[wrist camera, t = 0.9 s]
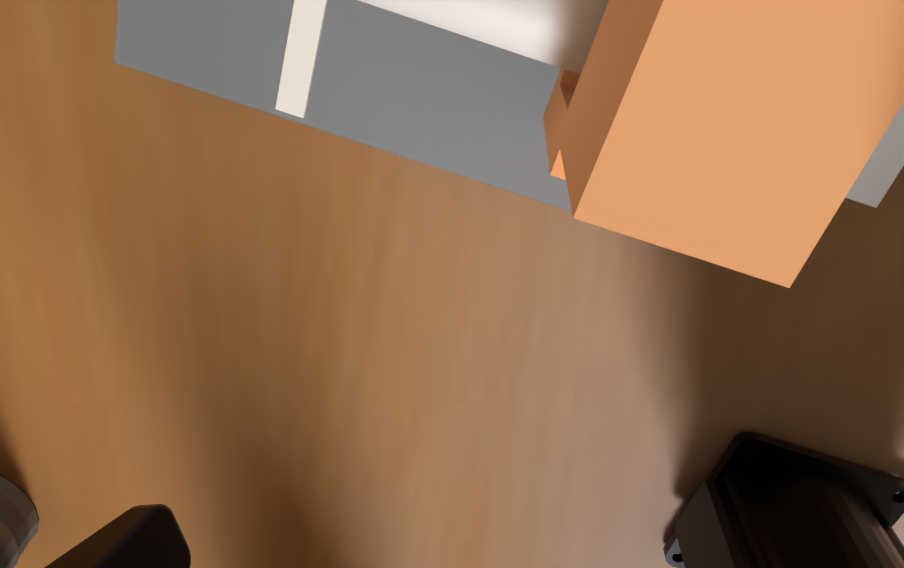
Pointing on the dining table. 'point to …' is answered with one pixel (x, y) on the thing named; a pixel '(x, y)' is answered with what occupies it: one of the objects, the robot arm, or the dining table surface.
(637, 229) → the collar
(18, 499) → the beverage cup
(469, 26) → the rail stand
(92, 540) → the robot arm
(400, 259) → the dining table surface
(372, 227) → the dining table surface
